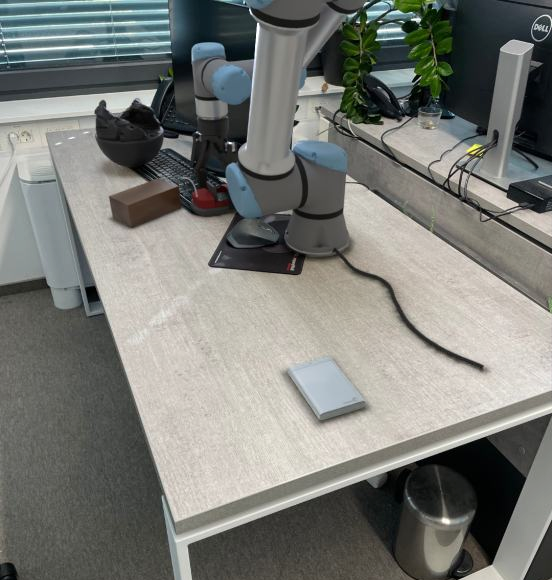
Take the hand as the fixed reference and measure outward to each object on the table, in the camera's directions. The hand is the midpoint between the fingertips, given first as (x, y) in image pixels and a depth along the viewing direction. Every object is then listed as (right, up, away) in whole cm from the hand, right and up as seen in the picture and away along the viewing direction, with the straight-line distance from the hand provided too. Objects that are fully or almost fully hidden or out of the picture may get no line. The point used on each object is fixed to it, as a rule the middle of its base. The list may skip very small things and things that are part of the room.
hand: (218, 201), depth 152 cm
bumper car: (0, -1, +1) cm, 2 cm away
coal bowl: (-28, +17, +25) cm, 41 cm away
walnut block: (-18, -3, -2) cm, 19 cm away
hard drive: (+23, -45, -56) cm, 76 cm away
